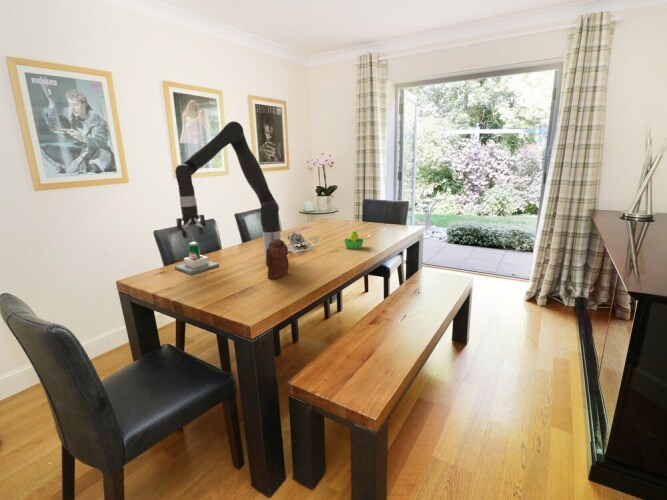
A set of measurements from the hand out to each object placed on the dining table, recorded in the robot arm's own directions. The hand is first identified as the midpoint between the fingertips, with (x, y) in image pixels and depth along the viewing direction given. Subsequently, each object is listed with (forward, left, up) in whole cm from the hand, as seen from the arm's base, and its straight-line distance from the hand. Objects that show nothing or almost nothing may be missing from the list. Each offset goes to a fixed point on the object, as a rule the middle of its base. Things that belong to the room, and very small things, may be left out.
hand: (193, 236), depth 180 cm
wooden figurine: (-45, -16, -17) cm, 51 cm away
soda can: (0, 0, -16) cm, 16 cm away
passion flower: (-13, -61, -17) cm, 65 cm away
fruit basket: (-45, -79, -17) cm, 93 cm away
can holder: (0, 0, -17) cm, 17 cm away
